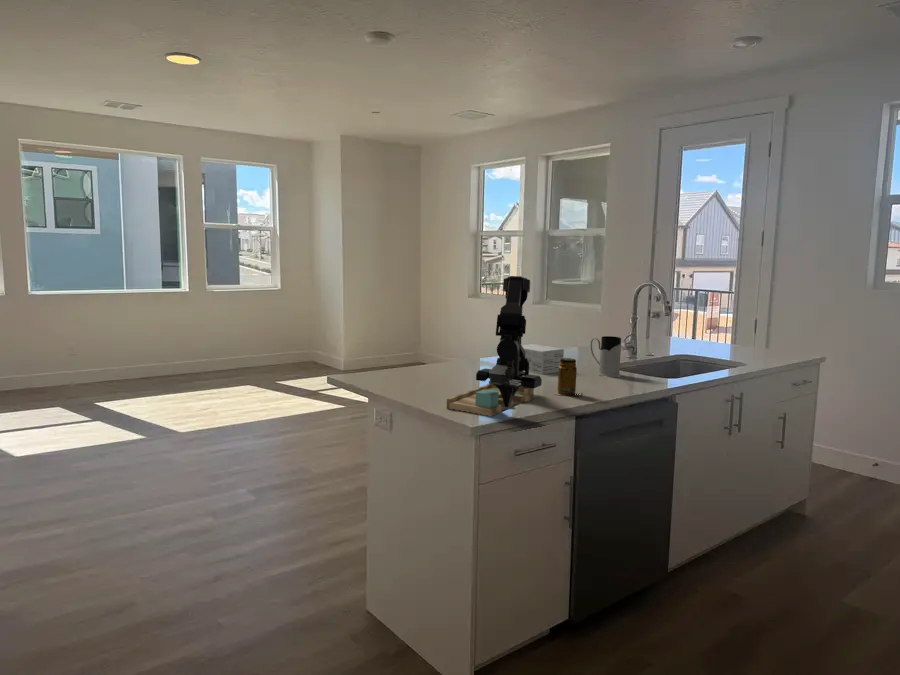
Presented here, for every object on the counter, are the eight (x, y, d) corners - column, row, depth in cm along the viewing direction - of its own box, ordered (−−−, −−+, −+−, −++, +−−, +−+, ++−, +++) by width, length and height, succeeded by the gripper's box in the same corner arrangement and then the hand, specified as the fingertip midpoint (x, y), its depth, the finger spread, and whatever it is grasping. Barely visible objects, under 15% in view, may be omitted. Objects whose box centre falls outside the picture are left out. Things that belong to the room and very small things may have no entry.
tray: (489, 392, 217) (490, 380, 216) (533, 399, 208) (533, 387, 208) (446, 408, 193) (446, 395, 192) (493, 416, 185) (494, 403, 184)
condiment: (557, 390, 223) (559, 356, 221) (582, 393, 220) (584, 358, 218) (554, 395, 216) (556, 360, 214) (580, 397, 213) (582, 362, 212)
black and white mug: (611, 378, 248) (613, 339, 246) (582, 371, 259) (584, 335, 257) (624, 375, 253) (627, 338, 251) (596, 369, 264) (598, 333, 262)
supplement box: (563, 371, 259) (564, 348, 258) (542, 374, 251) (543, 351, 250) (532, 365, 272) (533, 343, 271) (510, 368, 264) (511, 345, 262)
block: (483, 402, 194) (483, 389, 193) (498, 404, 191) (498, 391, 190) (475, 405, 189) (475, 392, 189) (490, 408, 187) (490, 394, 186)
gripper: (467, 354, 182) (465, 407, 185) (527, 362, 173) (524, 418, 175) (485, 349, 192) (483, 400, 194) (543, 356, 182) (540, 409, 185)
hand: (507, 407), depth 187 cm, fingers closed
